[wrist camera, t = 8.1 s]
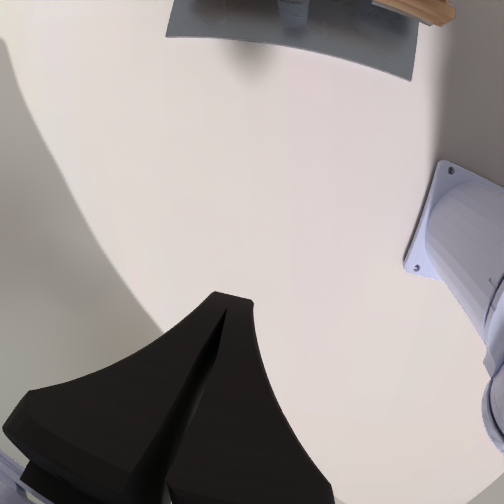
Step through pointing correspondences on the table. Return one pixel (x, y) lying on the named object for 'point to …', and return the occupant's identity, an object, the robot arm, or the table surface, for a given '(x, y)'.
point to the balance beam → (421, 10)
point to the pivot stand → (306, 28)
